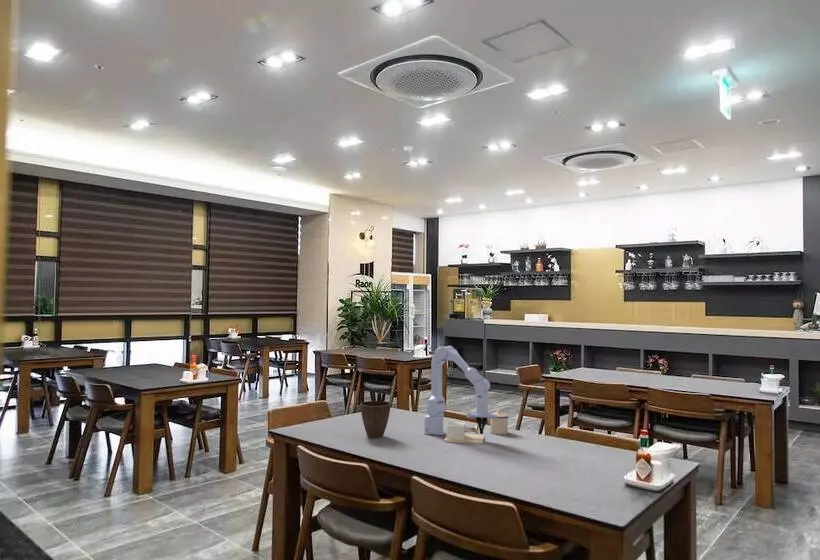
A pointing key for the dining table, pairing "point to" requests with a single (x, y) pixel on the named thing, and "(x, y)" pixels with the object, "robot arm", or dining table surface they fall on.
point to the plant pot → (375, 417)
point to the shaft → (471, 429)
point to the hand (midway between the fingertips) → (481, 433)
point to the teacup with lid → (499, 423)
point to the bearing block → (461, 434)
